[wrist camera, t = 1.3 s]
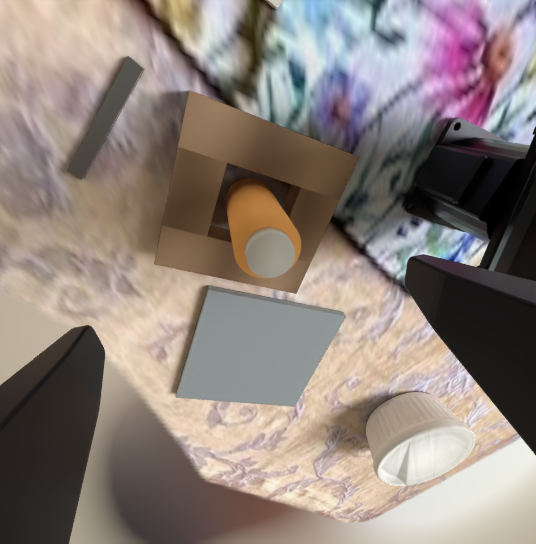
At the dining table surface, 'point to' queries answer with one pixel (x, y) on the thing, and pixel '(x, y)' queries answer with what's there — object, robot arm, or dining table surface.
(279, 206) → the orange cylinder
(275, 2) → the pliers
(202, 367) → the rubber mat
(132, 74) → the strip
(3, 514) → the robot arm
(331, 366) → the dining table surface
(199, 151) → the brown square frame
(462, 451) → the ramekin
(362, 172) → the dining table surface
